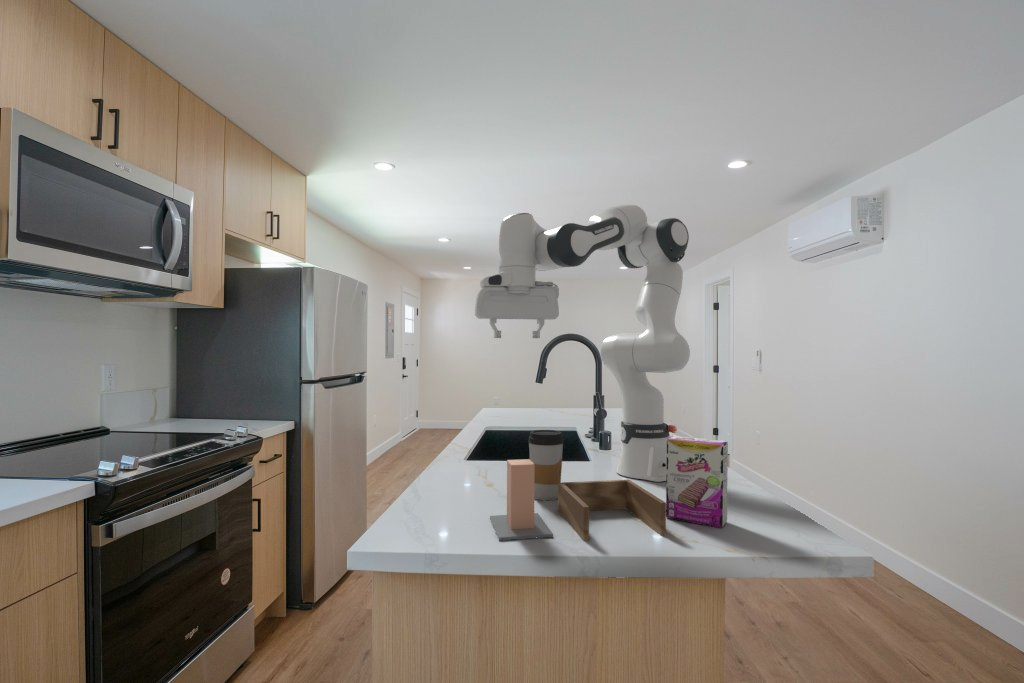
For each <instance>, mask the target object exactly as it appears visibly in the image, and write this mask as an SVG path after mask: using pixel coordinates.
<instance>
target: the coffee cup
mask: <svg viewBox="0 0 1024 683" xmlns="http://www.w3.org/2000/svg"><path fill="white" fill-rule="evenodd" d="M563 446H564V436H563V434H562V432H561V431H559V430H554V429H535V430H532V431H530V433H529V436H528V448H529V459H530V460H531V461H532V462H533V463H534V464H535V471H534V499H535V498H536V499H535V500H538V499H540V500H539V501H544V500H549V501H554V500H558V483H562V470H563V469H562V467H563Z"/></svg>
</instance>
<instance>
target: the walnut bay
mask: <svg viewBox="0 0 1024 683" xmlns="http://www.w3.org/2000/svg"><path fill="white" fill-rule="evenodd" d="M605 510H606V511H609V510H610V511H612V510H627V511H629V513H631V514H633V515H634V516H635V517H636V518H637V519H639V520H640V521H642V522H643V523H644V524H645V525H647V526H648V527H649V528H651V529H652V530H653V531H654V532H656V533H657V534H659V535H660V536H667V534H666V533H667V518H666V501H665V500H662V499H661V498H659V497H658V496H656V495H655V494H653V493H651V492H650V491H648V490H647V489H645V488H643V487H641V485H638V483H635V482H634V481H632V480H631V479H614V480H613V479H611V480H610V479H609V480H589V481H568V482H565V481H564V482H561V483H558V498H557V511H558V513H559V515H561V516H562V518H563V519H564V520H565V521H566V522H567V523H568V525H570V527H571V528H572V529H573V530H574V531H575V532H576V534H577V535H578V537H580V538H581V539H582V540H584V541H590V512H594V511H605Z"/></svg>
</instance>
